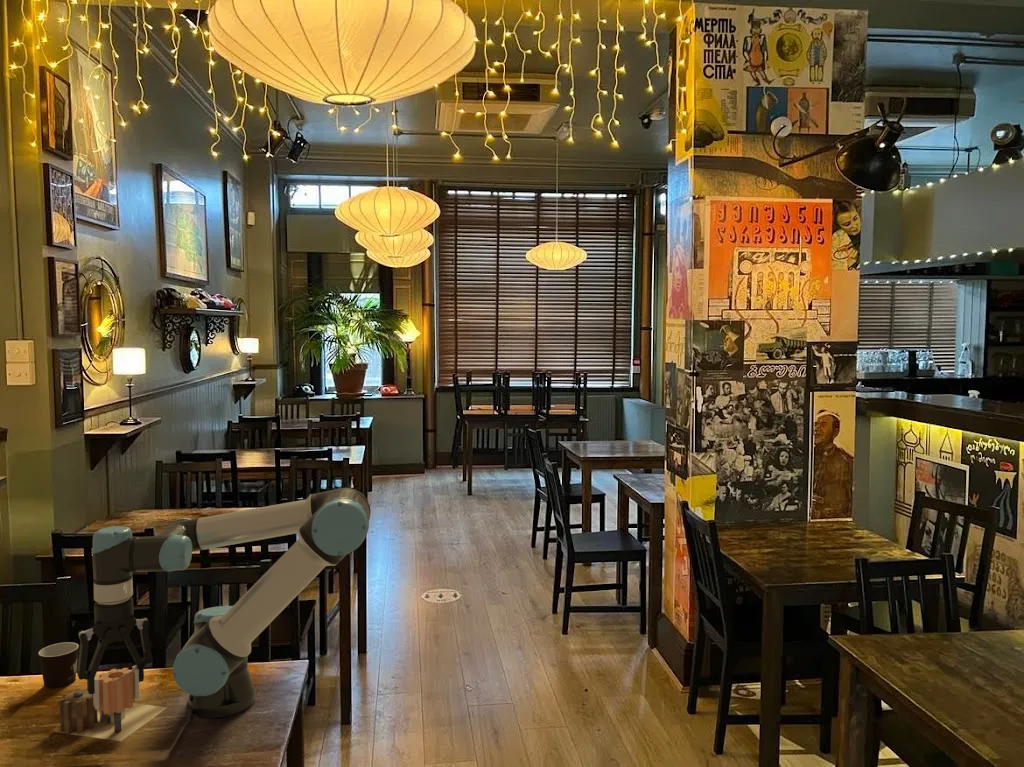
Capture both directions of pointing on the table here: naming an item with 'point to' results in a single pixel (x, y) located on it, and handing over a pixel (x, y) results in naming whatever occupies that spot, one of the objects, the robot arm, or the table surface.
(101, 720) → the sun gear
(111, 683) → the planet gear
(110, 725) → the carrier
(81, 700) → the pinned planet gear
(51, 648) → the coffee mug
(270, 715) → the table surface
